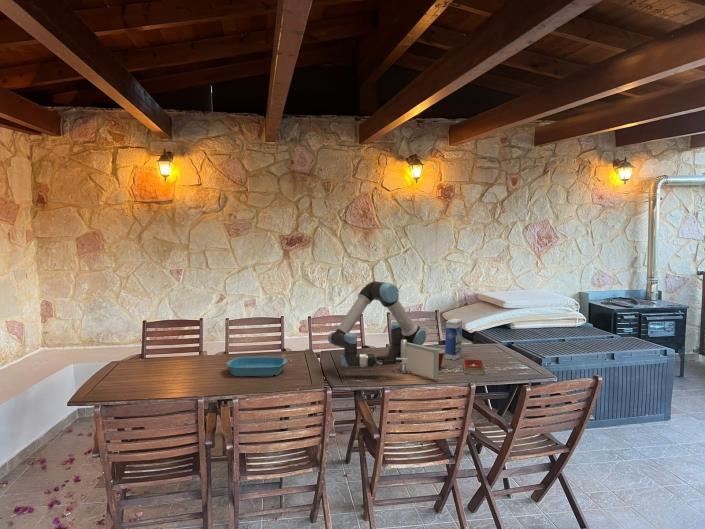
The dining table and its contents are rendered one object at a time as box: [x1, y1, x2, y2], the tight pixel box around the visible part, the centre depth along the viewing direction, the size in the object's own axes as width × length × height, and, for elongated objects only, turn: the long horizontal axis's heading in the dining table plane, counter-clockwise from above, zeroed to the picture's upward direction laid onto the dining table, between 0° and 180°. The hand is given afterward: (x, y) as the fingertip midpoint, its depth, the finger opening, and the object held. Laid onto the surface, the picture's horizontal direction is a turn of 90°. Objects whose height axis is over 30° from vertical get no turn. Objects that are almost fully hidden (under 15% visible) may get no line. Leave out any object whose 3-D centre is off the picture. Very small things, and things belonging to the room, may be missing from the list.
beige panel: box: [406, 343, 439, 380], centre depth 279 cm, size 23×2×17 cm, turn 43°
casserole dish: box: [225, 356, 288, 377], centre depth 286 cm, size 37×22×7 cm, turn 91°
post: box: [394, 339, 412, 375], centre depth 289 cm, size 8×8×20 cm
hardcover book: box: [462, 358, 485, 376], centre depth 295 cm, size 12×21×4 cm, turn 168°
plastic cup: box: [432, 347, 445, 370], centre depth 296 cm, size 11×11×12 cm
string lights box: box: [444, 318, 463, 361], centre depth 321 cm, size 13×8×26 cm, turn 148°
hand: (407, 360), depth 276 cm, fingers closed
